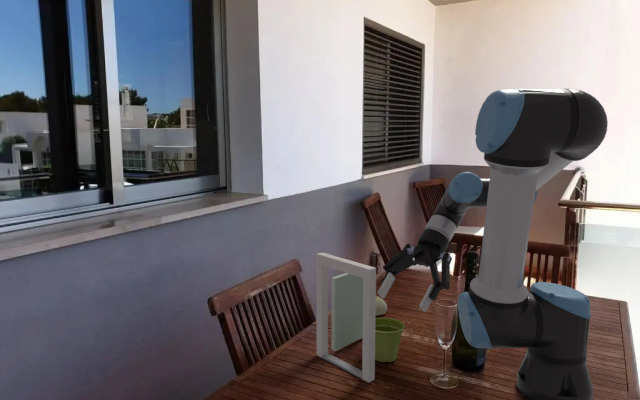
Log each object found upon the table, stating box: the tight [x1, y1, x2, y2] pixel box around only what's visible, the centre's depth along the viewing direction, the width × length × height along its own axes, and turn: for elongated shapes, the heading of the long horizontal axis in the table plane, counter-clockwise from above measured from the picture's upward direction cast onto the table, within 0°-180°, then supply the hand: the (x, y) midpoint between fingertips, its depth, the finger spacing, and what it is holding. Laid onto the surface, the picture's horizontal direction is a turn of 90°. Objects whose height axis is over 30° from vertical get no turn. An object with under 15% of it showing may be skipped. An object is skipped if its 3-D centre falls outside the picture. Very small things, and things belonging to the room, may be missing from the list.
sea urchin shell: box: [375, 295, 388, 317], centre depth 155 cm, size 9×8×8 cm
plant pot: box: [375, 317, 406, 363], centre depth 124 cm, size 9×9×9 cm
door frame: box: [315, 252, 377, 383], centre depth 118 cm, size 18×2×26 cm, turn 41°
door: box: [331, 272, 363, 352], centre depth 131 cm, size 13×3×19 cm, turn 137°
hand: (400, 302), depth 128 cm, fingers open, 13 cm apart
